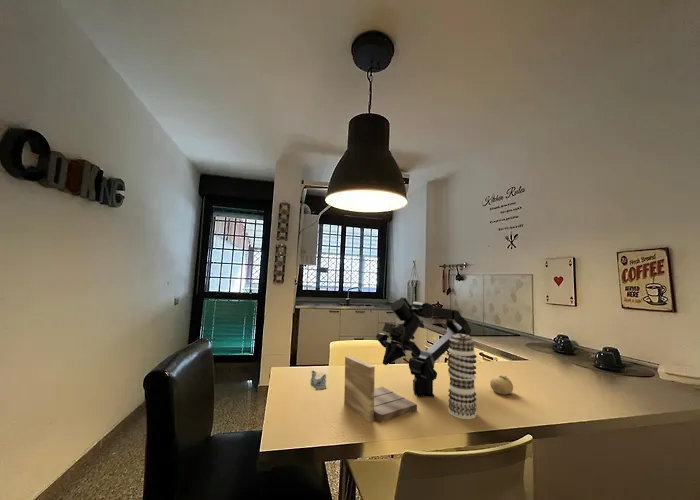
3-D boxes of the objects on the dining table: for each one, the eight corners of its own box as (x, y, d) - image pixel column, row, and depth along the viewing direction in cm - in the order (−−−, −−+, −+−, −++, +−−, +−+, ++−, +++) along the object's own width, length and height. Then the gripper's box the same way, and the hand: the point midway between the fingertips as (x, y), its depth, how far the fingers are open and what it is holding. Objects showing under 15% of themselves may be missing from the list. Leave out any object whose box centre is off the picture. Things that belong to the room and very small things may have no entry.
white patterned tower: (461, 422, 92) (461, 338, 94) (441, 409, 100) (441, 333, 102) (484, 417, 95) (482, 336, 97) (462, 405, 104) (461, 331, 106)
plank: (349, 403, 103) (350, 355, 105) (373, 420, 92) (374, 366, 93) (344, 404, 102) (345, 356, 103) (368, 421, 90) (369, 367, 92)
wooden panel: (382, 392, 114) (382, 385, 114) (416, 410, 99) (416, 403, 99) (346, 400, 105) (346, 393, 105) (378, 422, 90) (378, 414, 90)
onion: (487, 392, 115) (487, 373, 116) (494, 387, 121) (493, 369, 122) (509, 398, 110) (509, 379, 111) (515, 393, 116) (515, 374, 116)
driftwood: (326, 391, 115) (326, 385, 115) (308, 391, 114) (308, 385, 114) (326, 374, 135) (327, 369, 135) (311, 374, 135) (312, 369, 135)
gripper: (379, 311, 116) (355, 343, 109) (414, 317, 100) (389, 355, 93) (395, 330, 119) (372, 362, 112) (431, 339, 104) (407, 377, 97)
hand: (384, 364), depth 104 cm, fingers closed
